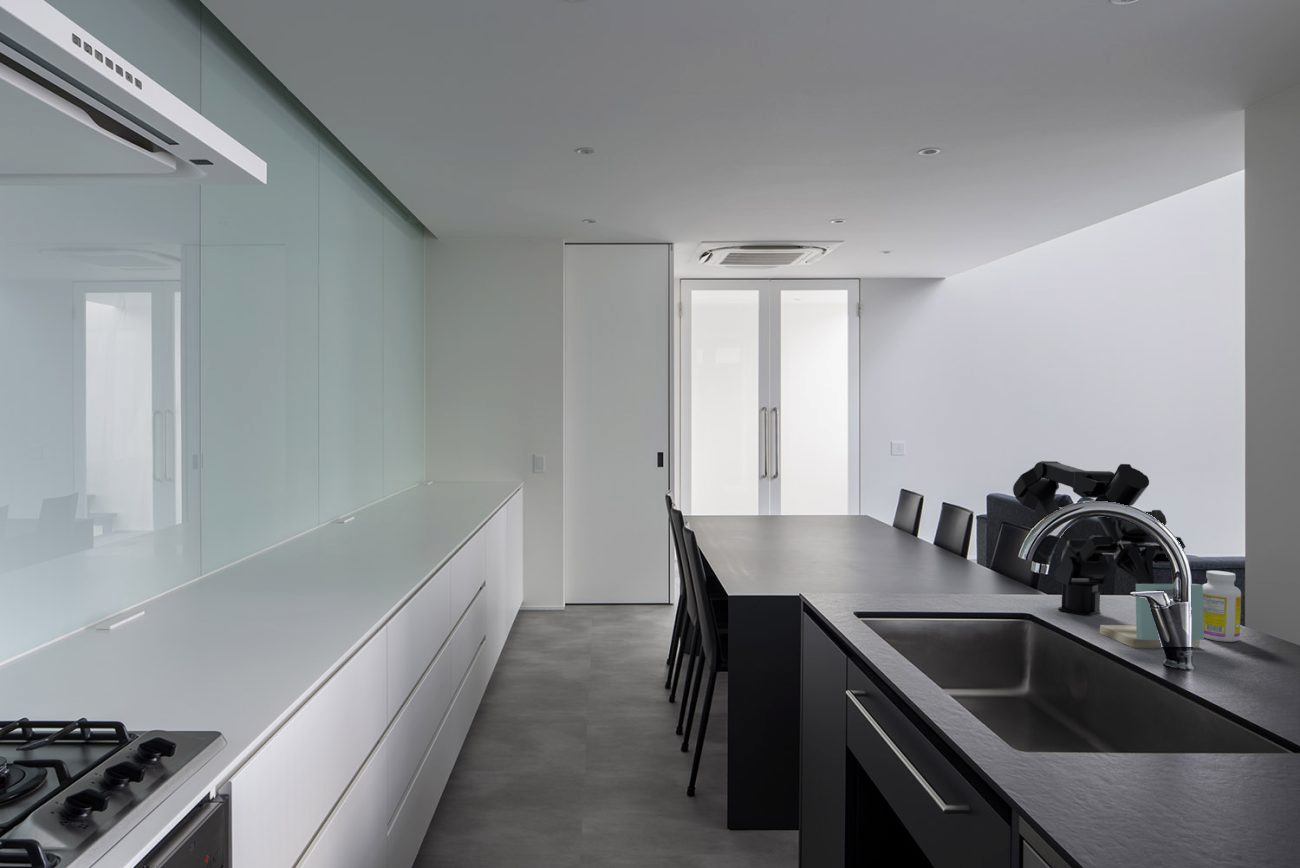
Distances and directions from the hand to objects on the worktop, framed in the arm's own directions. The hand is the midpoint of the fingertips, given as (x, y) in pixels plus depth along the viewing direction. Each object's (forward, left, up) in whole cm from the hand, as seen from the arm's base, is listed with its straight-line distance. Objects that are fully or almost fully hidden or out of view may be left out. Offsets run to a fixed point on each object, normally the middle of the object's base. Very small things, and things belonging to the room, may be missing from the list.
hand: (1151, 585), depth 159 cm
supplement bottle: (+8, +13, -11) cm, 19 cm away
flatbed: (0, 0, -11) cm, 11 cm away
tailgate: (+5, -4, -9) cm, 11 cm away
